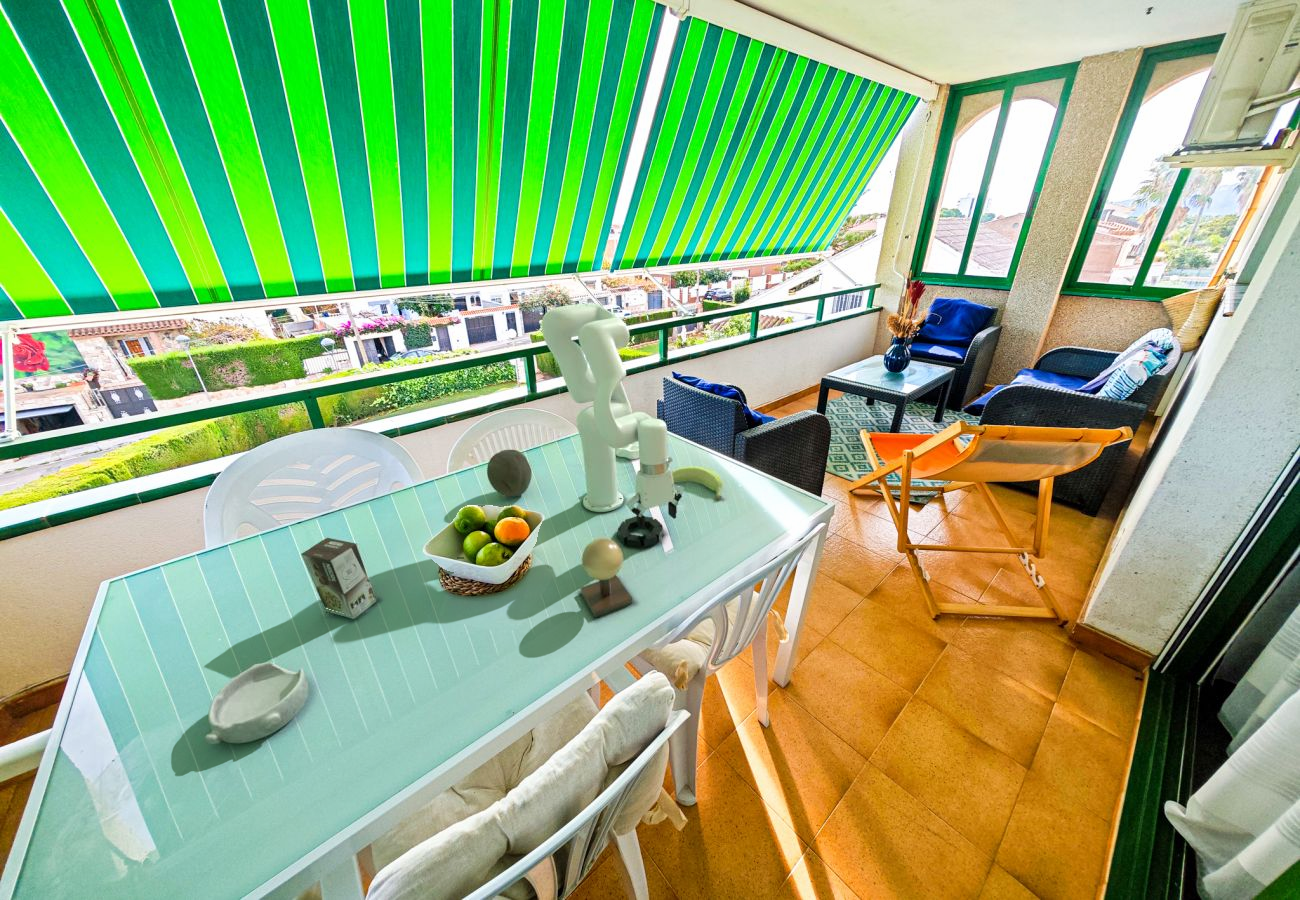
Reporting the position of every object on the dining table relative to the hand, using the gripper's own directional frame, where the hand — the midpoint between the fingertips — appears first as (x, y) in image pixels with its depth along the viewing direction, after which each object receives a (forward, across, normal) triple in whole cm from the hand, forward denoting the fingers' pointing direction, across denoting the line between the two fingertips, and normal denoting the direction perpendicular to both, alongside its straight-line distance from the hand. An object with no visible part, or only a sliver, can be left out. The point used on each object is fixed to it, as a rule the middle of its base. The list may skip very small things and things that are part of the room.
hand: (657, 521), depth 127 cm
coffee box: (+2, +75, -10) cm, 76 cm away
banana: (+3, -23, -15) cm, 28 cm away
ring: (+3, +5, -1) cm, 6 cm away
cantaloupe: (+2, +30, -43) cm, 53 cm away
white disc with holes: (+2, -16, -55) cm, 57 cm away
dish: (+3, +87, +13) cm, 88 cm away
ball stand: (+4, +23, +17) cm, 29 cm away
